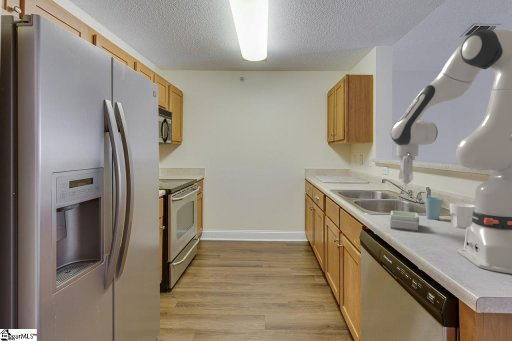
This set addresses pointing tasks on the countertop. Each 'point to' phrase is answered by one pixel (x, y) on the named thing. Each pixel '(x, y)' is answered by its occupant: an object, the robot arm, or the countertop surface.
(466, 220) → the cup
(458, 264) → the countertop surface
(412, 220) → the grey green box
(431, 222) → the countertop surface
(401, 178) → the wineglass
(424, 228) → the countertop surface
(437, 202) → the cup
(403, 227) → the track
